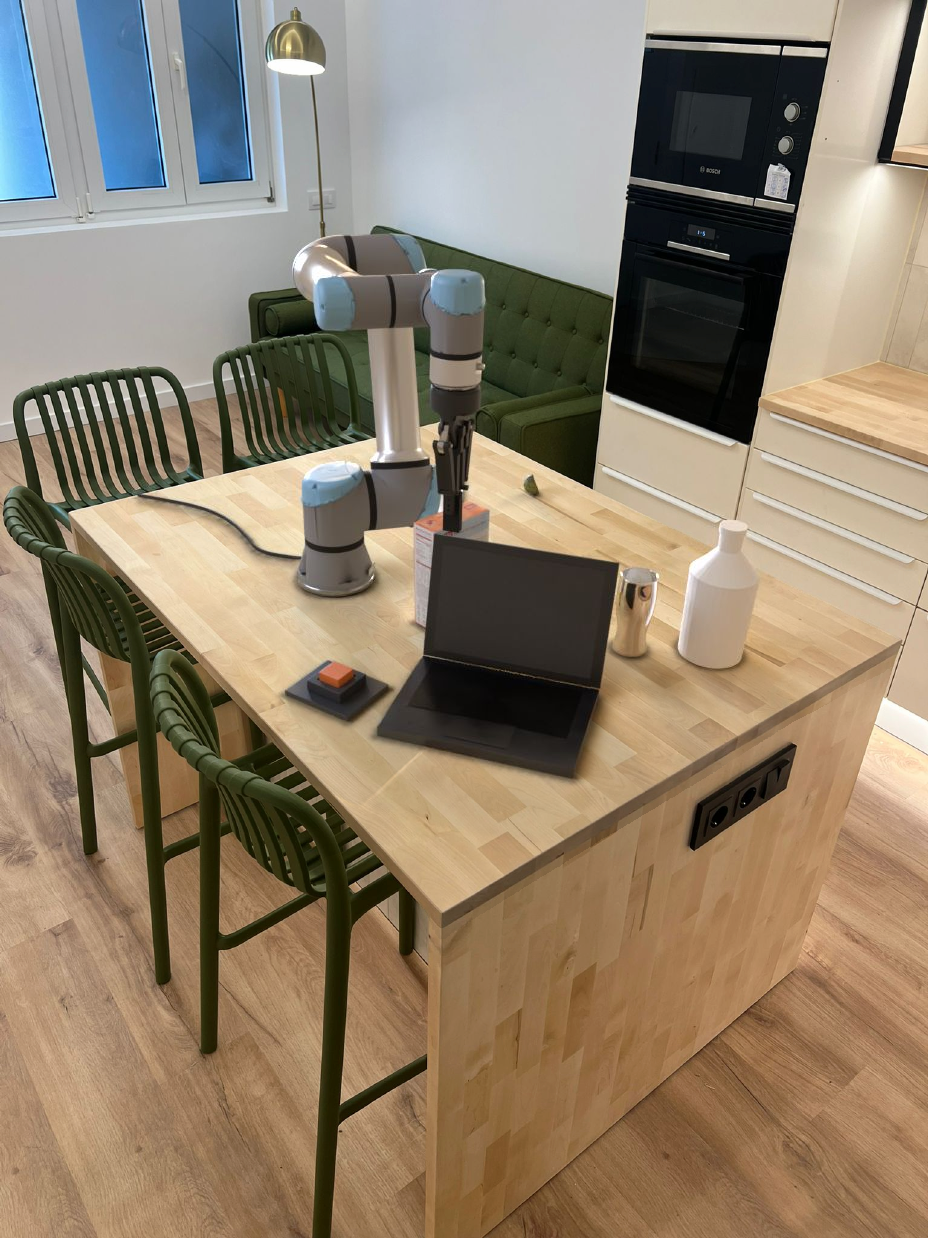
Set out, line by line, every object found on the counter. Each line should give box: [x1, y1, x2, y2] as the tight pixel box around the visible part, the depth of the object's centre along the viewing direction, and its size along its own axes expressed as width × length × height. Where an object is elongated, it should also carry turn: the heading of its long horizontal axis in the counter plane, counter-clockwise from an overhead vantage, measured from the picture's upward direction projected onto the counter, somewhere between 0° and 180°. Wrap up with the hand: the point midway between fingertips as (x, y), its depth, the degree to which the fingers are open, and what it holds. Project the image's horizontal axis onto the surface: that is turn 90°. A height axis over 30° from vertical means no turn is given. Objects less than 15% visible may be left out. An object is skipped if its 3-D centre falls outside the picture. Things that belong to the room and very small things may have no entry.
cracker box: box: [413, 501, 490, 629], centre depth 172 cm, size 14×6×21 cm, turn 135°
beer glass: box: [611, 566, 660, 658], centre depth 166 cm, size 7×7×15 cm
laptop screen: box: [422, 533, 620, 690], centre depth 156 cm, size 22×31×1 cm
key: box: [319, 660, 354, 688], centre depth 154 cm, size 4×4×2 cm
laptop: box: [376, 654, 601, 779], centre depth 150 cm, size 22×31×2 cm
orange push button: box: [284, 659, 390, 723], centre depth 155 cm, size 13×11×3 cm
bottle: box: [677, 519, 761, 670], centre depth 163 cm, size 12×12×25 cm
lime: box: [523, 473, 540, 496], centre depth 227 cm, size 4×5×5 cm
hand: (452, 529), depth 149 cm, fingers closed
